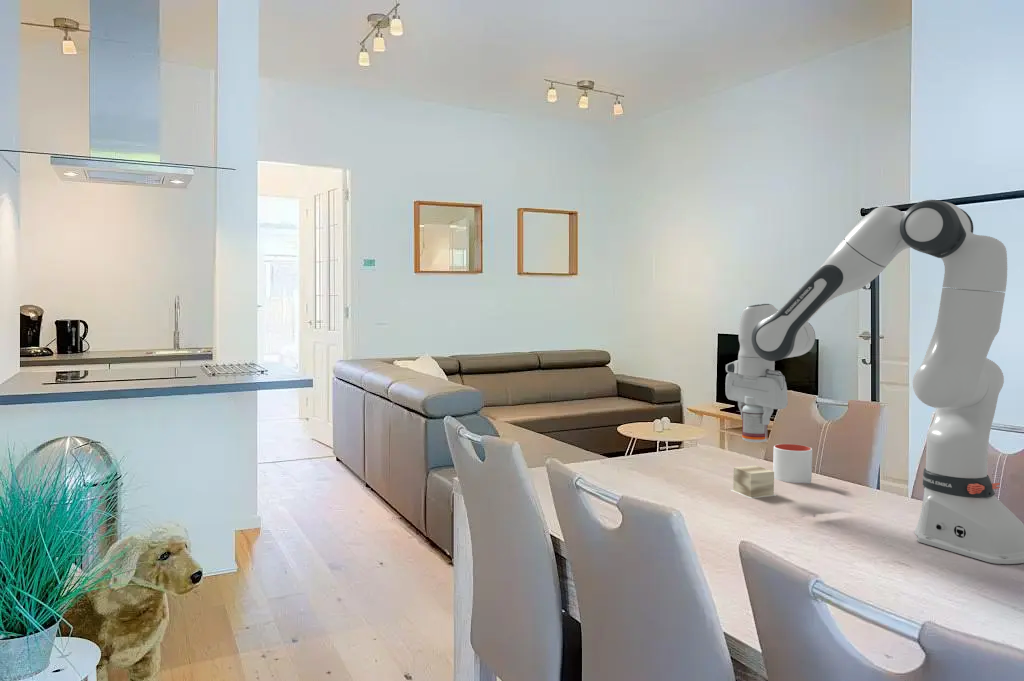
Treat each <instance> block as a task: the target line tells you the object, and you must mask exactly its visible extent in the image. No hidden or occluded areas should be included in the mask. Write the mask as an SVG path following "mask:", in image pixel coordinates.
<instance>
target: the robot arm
mask: <svg viewBox="0 0 1024 681" xmlns="http://www.w3.org/2000/svg"><path fill="white" fill-rule="evenodd" d="M906 249H913V250H914V251H917V252H919V253H922V254H926V255H930V256H932V257H933V258H934V257H935V258H938V259H941V260H942V262H943V264H944V274H943V283H942V289H941V295H940V301H939V306H938V307H939V309H938V315H937V320H936V324H935V327H934V330H933V334H932V336H931V339H930V342H929V345H928V347H927V350H926V353H925V355H924V358H923V359H922V360H923V361H922V363H921V365H920V366H919V367H918V369H917V370H915V373H914V375H913V378H912V389H913V391H914V394H915V395H916V397H917V398H918V400H919V401H921V403H923V404H924V405H926V406H929V407H932V408H934V409H936V410H935V413H934V417H933V420H932V422H931V425H930V427H929V428H928V431H927V433H926V450H925V451H926V454H925V455H926V456H925V468H923V473H922V474H923V475H922V486H923V489H924V490H923V497H922V505H921V510H920V514H919V517H918V521H917V524H916V527H915V530H914V534H915V535H916V536H917V538H916V541H917V542H919V543H921V544H925V545H928V546H931V547H936V548H938V549H942V550H945V551H949V552H952V553H955V554H959V555H962V556H965V557H969V558H972V559H976V560H979V561H983V562H986V563H991V564H995V565H996V564H998V565H1016V564H1024V523H1023V522H1022V521H1021V520H1020V518H1018V516H1016V515H1015V514H1014V513H1013V512H1012V511H1011V510H1009V508H1008V507H1006V506H1005V504H1004V503H1002V501H1000V499H998V498H997V497H996V496H995V494H996V492H995V489H1001V487H1000V486H999V485H1000V484H1001V483H1000V482H995V483H994V482H993V483H992V480H991V478H990V476H989V475H988V462H989V460H988V458H989V457H988V456H989V442H990V434H991V430H992V424H993V422H994V421H993V420H994V418H995V414H996V410H997V409H996V408H997V404H998V400H999V399H998V398H999V395H1000V392H1001V390H1002V388H1003V386H1004V382H1005V376H1004V373H1003V371H1002V369H1001V368H1000V366H999V365H998V364H997V363H996V362H995V361H993V360H991V359H989V358H987V356H988V354H989V352H990V348H991V347H992V344H993V341H994V340H995V337H997V335H998V333H999V332H1000V328H1001V322H1002V316H1003V315H1002V314H1003V309H1004V302H1005V296H1006V290H1007V284H1008V253H1007V247H1006V246H1005V244H1004V243H1003V242H1002V241H1001V240H1000V239H997V238H995V237H992V236H988V235H980V234H975V233H974V223H973V220H972V218H971V216H970V215H969V213H968V212H966V211H965V210H964V209H962V208H960V207H959V206H957V205H956V204H953V203H951V202H947V201H942V200H940V199H938V200H937V199H928V200H927V199H926V200H922V201H919V202H917V203H915V204H913V205H912V206H910V207H909V208H908V209H906V211H905V212H902V211H901V210H899V209H898V208H895V207H892V206H888V205H887V206H886V205H885V206H883V205H882V206H879V207H876V208H874V209H873V210H871V211H870V212H869V213H867V214H866V216H864V217H863V218H862V219H861V220H860V221H858V222H857V223H856V225H855V226H854V227H852V228H851V229H850V231H849V232H848V233H847V234H846V235H845V237H844V238H843V239H842V240H841V241H840V242H839V243H838V245H837V246H836V247H835V249H833V251H832V252H831V253H830V254H829V256H828V257H827V258H826V259H825V261H824V262H823V263H822V264H821V265H820V267H818V268H817V270H816V271H815V272H814V273H813V274H812V275H811V276H810V278H808V279H807V280H806V281H805V282H804V283H803V284H802V285H801V286H800V288H798V290H796V292H795V293H794V294H793V295H792V296H791V297H790V298H789V299H788V300H787V301H786V302H785V304H784V305H782V307H781V308H779V309H778V308H776V307H775V306H774V305H773V304H770V303H761V304H754V305H749V306H746V307H744V309H742V311H741V313H740V317H739V322H738V325H739V326H738V342H739V350H738V355H737V360H734V361H732V362H729V363H727V364H725V373H727V374H726V376H725V383H724V384H725V388H724V389H725V396H726V398H727V399H728V400H730V401H733V402H734V401H735V402H737V407H738V410H739V411H740V419H741V420H742V409H743V407H744V406H746V403H745V402H744V401H745V396H747V397H753V398H754V403H755V405H758V406H763V411H764V414H763V416H762V417H760V423H761V424H763V425H770V423H771V422H770V421H771V419H770V418H771V416H772V415H773V413H774V410H785V409H786V408H787V407H788V403H789V401H788V399H789V398H788V395H789V394H788V387H787V386H788V385H787V382H786V378H785V375H784V374H783V373H782V372H781V371H780V370H775V365H776V363H775V362H777V361H781V360H783V359H788V358H794V357H800V356H803V355H805V354H807V353H808V352H810V351H811V350H812V349H813V347H814V346H815V343H816V332H815V329H814V327H813V326H812V325H811V323H809V321H810V320H811V318H813V316H815V314H817V312H818V311H819V310H820V309H821V308H822V307H823V306H825V304H827V303H829V302H830V301H831V300H834V299H835V298H837V297H839V296H840V297H841V296H842V295H844V294H848V293H851V292H855V291H859V290H861V289H863V288H865V286H867V285H869V283H871V282H872V281H873V280H875V279H877V277H878V276H880V274H882V272H883V271H884V270H885V269H886V268H887V267H888V265H889V264H890V263H891V262H892V261H893V260H894V259H895V257H897V255H898V254H900V253H901V252H902V251H904V250H906Z"/></svg>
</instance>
